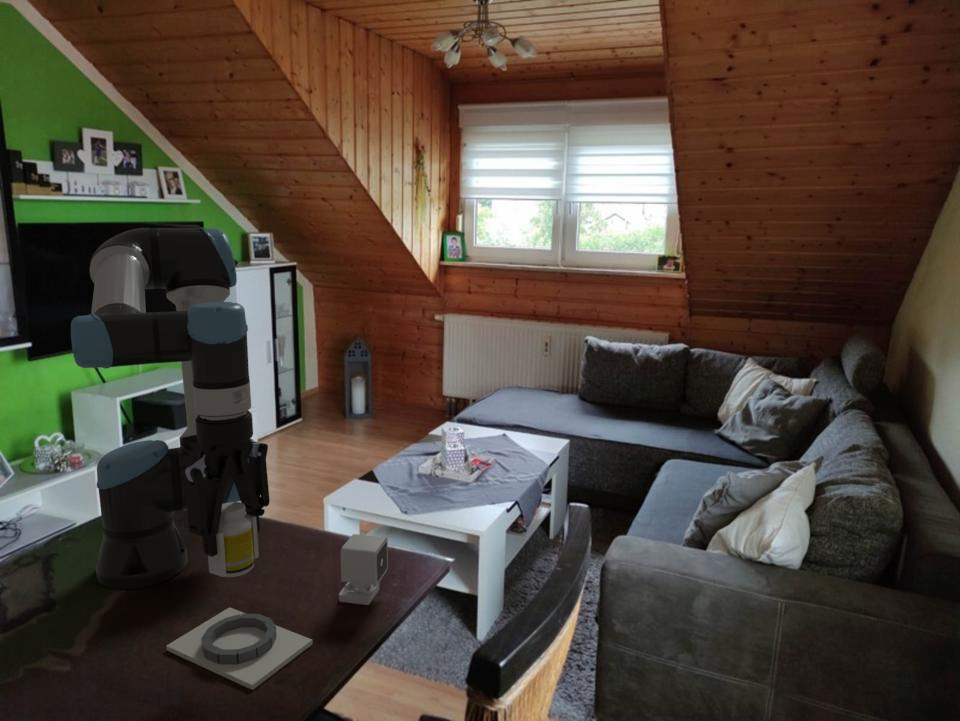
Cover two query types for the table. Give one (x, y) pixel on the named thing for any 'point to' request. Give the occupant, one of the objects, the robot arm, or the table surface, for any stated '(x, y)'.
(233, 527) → the supplement bottle
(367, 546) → the security camera
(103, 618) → the table surface
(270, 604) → the table surface
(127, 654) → the table surface
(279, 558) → the table surface
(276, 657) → the socket board
